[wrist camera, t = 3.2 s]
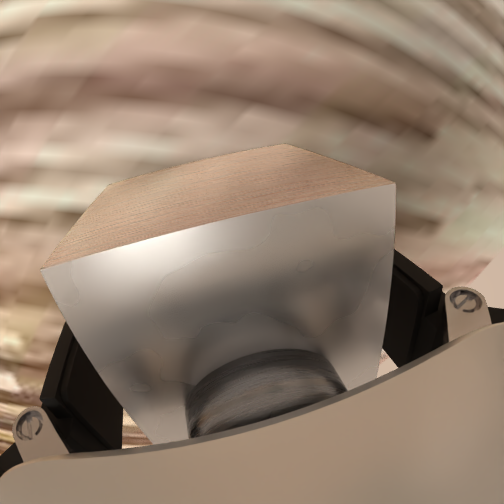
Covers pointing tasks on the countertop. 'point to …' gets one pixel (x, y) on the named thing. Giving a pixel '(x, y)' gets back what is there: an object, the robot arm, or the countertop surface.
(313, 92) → the countertop surface
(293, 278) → the housing
